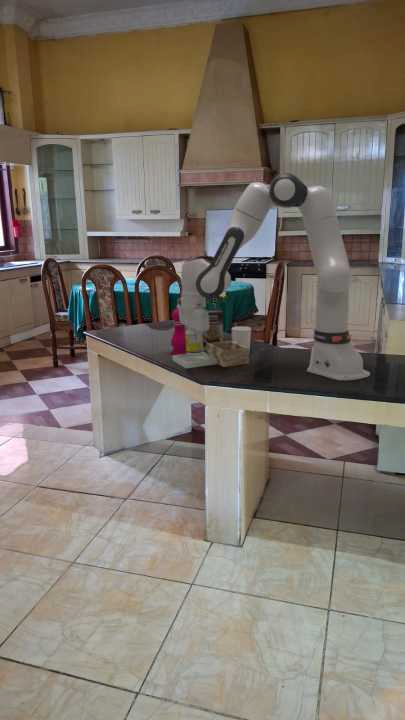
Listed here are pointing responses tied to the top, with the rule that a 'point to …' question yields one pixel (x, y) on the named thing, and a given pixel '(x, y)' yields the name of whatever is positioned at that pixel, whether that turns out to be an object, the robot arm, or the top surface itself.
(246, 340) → the white cup
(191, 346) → the pill bottle
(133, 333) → the top surface
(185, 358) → the sage tray
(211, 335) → the coffee box
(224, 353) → the beech box
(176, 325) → the pepper mill
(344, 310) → the robot arm
